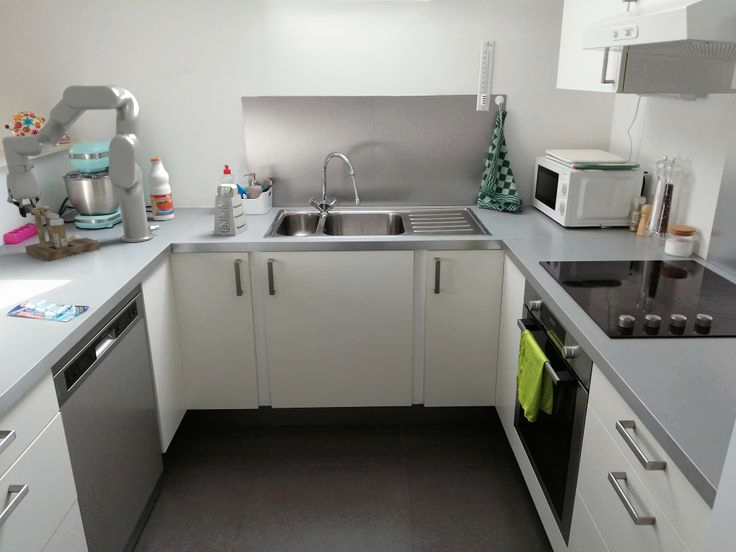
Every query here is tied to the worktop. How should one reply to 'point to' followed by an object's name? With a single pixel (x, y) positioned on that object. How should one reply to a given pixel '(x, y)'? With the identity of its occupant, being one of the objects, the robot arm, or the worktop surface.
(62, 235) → the sprinkles bottle
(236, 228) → the grater
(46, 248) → the brown wooden frame
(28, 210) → the bolt
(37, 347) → the worktop surface
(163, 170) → the fruit juice
